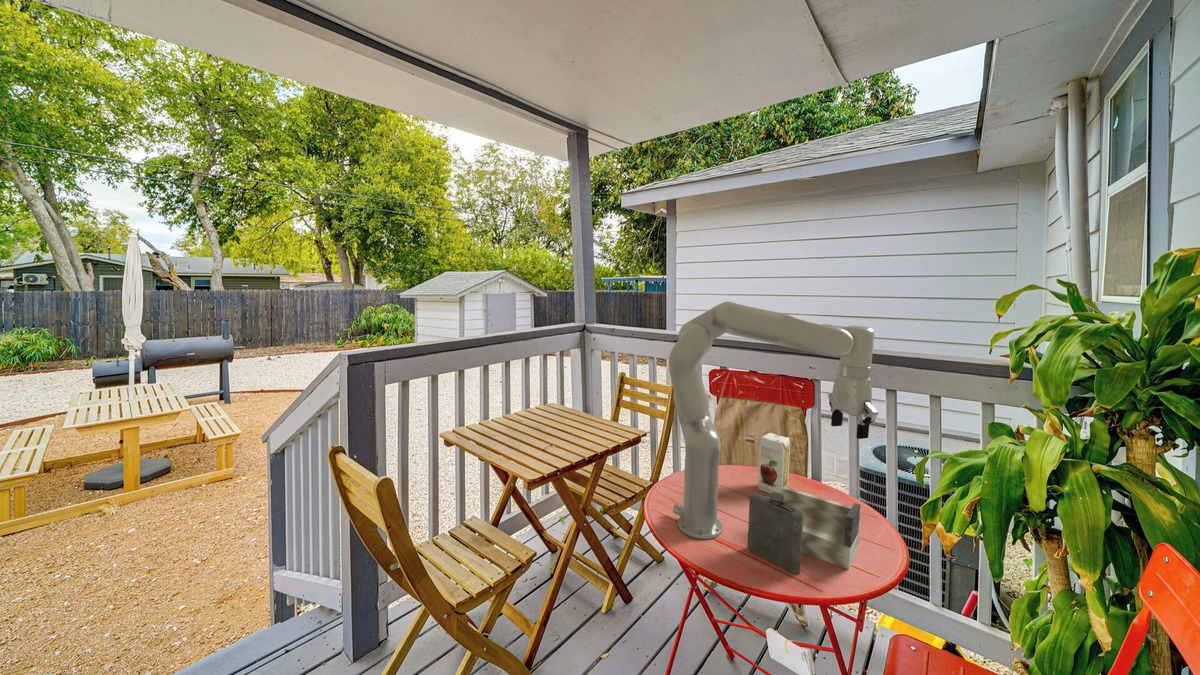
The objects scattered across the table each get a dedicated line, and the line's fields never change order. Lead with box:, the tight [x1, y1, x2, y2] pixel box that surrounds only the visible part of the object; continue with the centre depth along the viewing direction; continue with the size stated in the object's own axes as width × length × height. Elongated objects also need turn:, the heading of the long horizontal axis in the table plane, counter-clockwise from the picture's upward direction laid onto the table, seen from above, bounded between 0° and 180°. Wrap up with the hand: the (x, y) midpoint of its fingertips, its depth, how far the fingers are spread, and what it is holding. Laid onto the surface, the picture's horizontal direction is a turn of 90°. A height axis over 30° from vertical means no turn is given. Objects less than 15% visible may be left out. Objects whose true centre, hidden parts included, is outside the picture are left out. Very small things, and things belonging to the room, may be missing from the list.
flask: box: [747, 492, 804, 576], centre depth 119 cm, size 4×14×18 cm, turn 40°
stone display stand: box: [782, 486, 862, 570], centre depth 125 cm, size 20×10×14 cm, turn 50°
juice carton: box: [757, 432, 791, 495], centre depth 156 cm, size 8×9×19 cm
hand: (848, 431), depth 128 cm, fingers open, 9 cm apart
